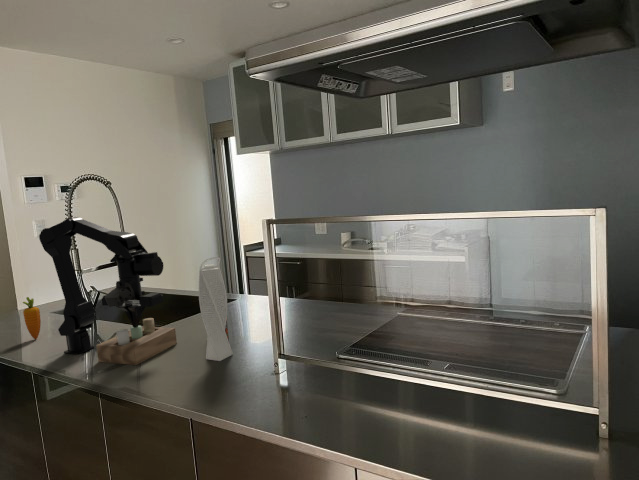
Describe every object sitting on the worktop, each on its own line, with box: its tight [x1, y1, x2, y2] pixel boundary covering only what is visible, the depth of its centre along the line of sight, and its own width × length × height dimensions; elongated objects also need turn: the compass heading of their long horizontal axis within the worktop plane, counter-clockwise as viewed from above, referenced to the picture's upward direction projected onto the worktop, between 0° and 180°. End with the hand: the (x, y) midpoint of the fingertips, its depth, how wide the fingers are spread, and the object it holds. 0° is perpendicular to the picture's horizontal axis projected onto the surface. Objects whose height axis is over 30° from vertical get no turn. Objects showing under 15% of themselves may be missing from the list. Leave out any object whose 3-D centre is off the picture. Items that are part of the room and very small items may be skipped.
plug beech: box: [142, 317, 156, 333], centre depth 157 cm, size 3×3×6 cm
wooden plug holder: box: [95, 326, 178, 366], centre depth 152 cm, size 14×18×5 cm
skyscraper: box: [198, 256, 234, 362], centre depth 141 cm, size 8×8×28 cm
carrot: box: [22, 296, 42, 340], centre depth 175 cm, size 5×5×15 cm
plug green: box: [129, 325, 143, 339], centre depth 152 cm, size 3×3×6 cm
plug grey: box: [116, 328, 130, 345], centre depth 146 cm, size 3×3×6 cm
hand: (135, 327), depth 151 cm, fingers closed, pressing on plug green
